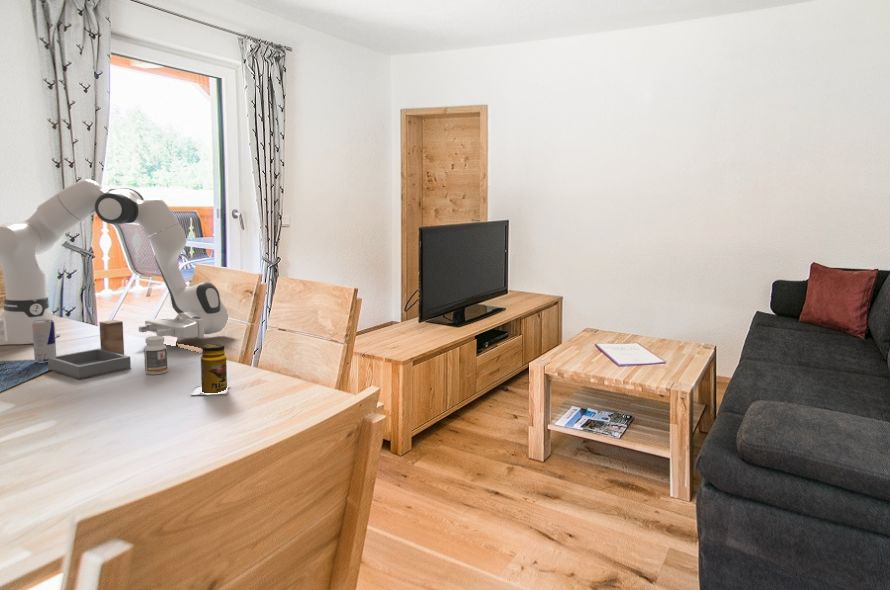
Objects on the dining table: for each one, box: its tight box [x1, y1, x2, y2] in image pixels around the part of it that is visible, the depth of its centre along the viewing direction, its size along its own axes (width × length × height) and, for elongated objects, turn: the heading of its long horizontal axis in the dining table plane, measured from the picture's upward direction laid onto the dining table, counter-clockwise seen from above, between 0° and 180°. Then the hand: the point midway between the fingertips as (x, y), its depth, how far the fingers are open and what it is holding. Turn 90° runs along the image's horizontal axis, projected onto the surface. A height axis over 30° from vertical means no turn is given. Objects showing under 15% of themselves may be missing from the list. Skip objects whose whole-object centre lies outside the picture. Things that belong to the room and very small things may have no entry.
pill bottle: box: [143, 335, 169, 376], centre depth 165 cm, size 6×6×10 cm
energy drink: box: [32, 320, 57, 364], centre depth 173 cm, size 5×5×12 cm
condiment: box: [198, 343, 228, 393], centre depth 150 cm, size 7×8×12 cm
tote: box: [47, 347, 132, 381], centre depth 167 cm, size 16×14×4 cm
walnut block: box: [98, 319, 125, 355], centre depth 180 cm, size 4×4×11 cm
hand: (148, 331), depth 190 cm, fingers open, 8 cm apart
